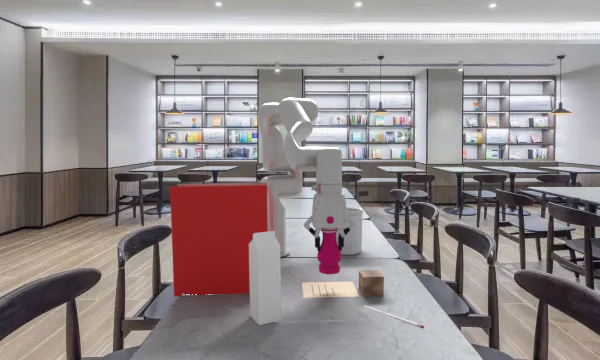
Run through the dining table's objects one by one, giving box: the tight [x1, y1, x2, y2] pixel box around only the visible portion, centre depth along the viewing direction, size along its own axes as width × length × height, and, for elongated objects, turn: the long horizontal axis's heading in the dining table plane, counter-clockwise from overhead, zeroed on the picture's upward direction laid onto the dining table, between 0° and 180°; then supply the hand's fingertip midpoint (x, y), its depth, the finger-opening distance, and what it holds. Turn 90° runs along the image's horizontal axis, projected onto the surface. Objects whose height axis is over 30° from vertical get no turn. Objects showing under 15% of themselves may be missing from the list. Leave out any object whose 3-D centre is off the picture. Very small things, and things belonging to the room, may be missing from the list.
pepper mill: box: [316, 216, 342, 275], centre depth 112 cm, size 7×7×20 cm
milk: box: [249, 231, 282, 326], centre depth 94 cm, size 6×6×22 cm
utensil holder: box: [336, 206, 364, 256], centre depth 155 cm, size 15×15×18 cm
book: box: [169, 182, 268, 297], centre depth 113 cm, size 27×8×32 cm, turn 95°
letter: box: [301, 281, 360, 299], centre depth 113 cm, size 16×12×1 cm
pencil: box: [360, 304, 425, 329], centre depth 95 cm, size 1×19×1 cm, turn 46°
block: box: [358, 269, 385, 298], centre depth 110 cm, size 6×6×6 cm
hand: (329, 249), depth 112 cm, fingers closed on pepper mill, 5 cm apart
